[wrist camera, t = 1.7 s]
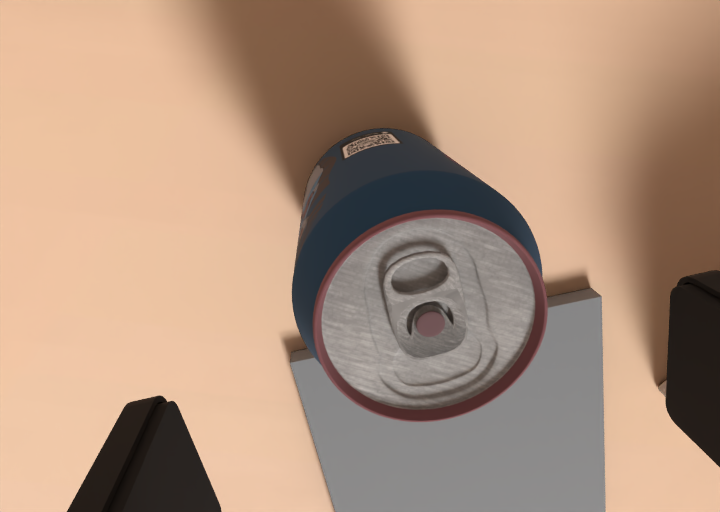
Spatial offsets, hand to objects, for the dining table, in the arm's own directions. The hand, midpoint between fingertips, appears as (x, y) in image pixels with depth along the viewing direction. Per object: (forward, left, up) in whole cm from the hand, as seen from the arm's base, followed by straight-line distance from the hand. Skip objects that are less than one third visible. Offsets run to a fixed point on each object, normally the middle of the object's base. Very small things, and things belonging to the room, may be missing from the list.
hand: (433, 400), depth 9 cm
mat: (-3, +15, -15) cm, 21 cm away
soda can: (-1, 0, -15) cm, 15 cm away
